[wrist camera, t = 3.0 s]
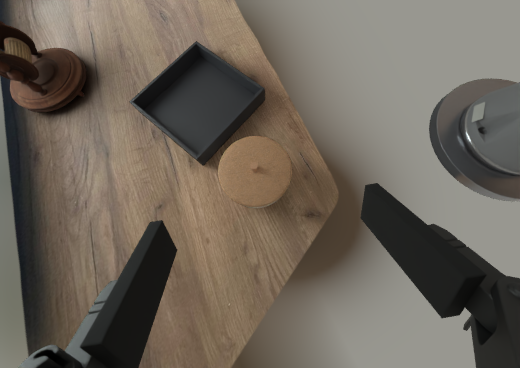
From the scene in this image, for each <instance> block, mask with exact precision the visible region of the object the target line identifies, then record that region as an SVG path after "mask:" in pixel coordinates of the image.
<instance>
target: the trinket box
mask: <svg viewBox="0 0 520 368" xmlns="http://www.w3.org/2000/svg"><path fill="white" fill-rule="evenodd" d="M218 176H219V181H220V184H221V186H222V188H223V190H224V192H225V193H226V194H227V195H228V196H229V197H230V198H231V199H232V200H234V201H235V202H237V203H239V204H240V205H243V206H245V207H249V208H263V207H266V206H269V205H271V204H273V203H275V202H276V201H277V200H279V199H280V198H281V196H282V195H283V194H284V193H285V192H286V190H287V188H288V187H289V184H290V182H291V178H292V163H291V160H290V157H289V155H288V153H287V152H286V150H285V149H284V148H283V147H282V146H281V145H280V144H279V143H277V142H276V141H274V140H272V139H270V138H267V137H262V136H249V137H245V138H242V139H240V140H238V141H236V142H234V143H233V144H232V145H230V146H229V147H228V148H227V149H226V151H225V152H224V154H223V156H222V157H221V160H220V163H219V168H218Z"/></svg>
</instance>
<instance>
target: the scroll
mask: <svg viewBox="0 0 520 368" xmlns="http://www.w3.org/2000/svg"><path fill="white" fill-rule="evenodd" d="M0 49H2V50H4V51H5V52H3V51H1V50H0V75H1V76H3V77H5V78H7V79H10V80H11V83H10V92H11V95H12V98H13V99H14V100H15V102H16V103H18V104H19V105H20V106H22V107H24V108H26V109H28V110H30V111H34V112H49V111H53V110H56V109H59V108H61V107H63V106H65V105H66V104H68V103H69V102H71V101H72V100H73V99H74V98H75V97H76V96H77V95H79V96H82V97H83V96H84V94H83V92H82V91H81V89H82V88H83V86H84V83H85V80H86V68H85V65H84V63H83V61H82V60H81V59H80V58H79V57H78V56H77V55H75V54H74V53H73V52H71V51H69V50H66V49H62V48H50V49H45V50H41V51H38V52H37V49H36V48H35V44H34V42H33V41H32V39H31V38H30V37H29V36H28V35H26V34H25V33H23V32H22V31H20V30H18V29H16V28H14V27H11V26H8V25H5V24H4V23H3V22H1V21H0Z"/></svg>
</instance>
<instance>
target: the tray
mask: <svg viewBox="0 0 520 368" xmlns="http://www.w3.org/2000/svg"><path fill="white" fill-rule="evenodd" d="M264 101H265V88H263V87H262V86H260V85H259V84H257V83H256V82H255V81H253V80H252V79H250V78H249V77H247V76H246V75H244V74H243V73H242V72H240V71H239V70H237V69H236V68H234V67H233V66H231V65H230V64H229V63H227V62H226V61H224V60H223V59H221V58H220V57H218V56H217V55H215V54H214V53H213V52H211V51H210V50H208V49H207V48H205V47H204V46H202V45H201V44H200V43H198V42H197V41H196V42H195V43H194V44H193V45H191V46H190V47H189V48H188V49H187V50H186V51H185V52H184V53H183V54H182V55H180V56H179V57H178V58H177V59H176V60H175V61H174V62H173V63H172V64H170V65H169V66H168V67H167V68H166V69H165V70H164V71H163V72H162V73H161V74H159V75H158V76H157V77H156V78H155V79H154V80H153V81H152V82H151V83H150V84H148V85H147V86H146V87H145V88H144V89H143V90H142V91H141V92H140V93H138V94H137V95H136V96H135V97H134V98H133V99H132V100H131V101H130V103H131V104H132V105H133V106H134V107H135V108H136V109H137V110H138V111H139V112H140V113H141V114H143V115H144V116H145V117H146V118H147V119H149V120H150V121H151V122H152V123H153V124H154V125H156V126H157V127H158V128H159V129H160V130H162V131H163V132H164V133H165V134H166V135H167V136H169V137H170V138H171V139H172V140H173V141H174V142H176V143H177V144H178V145H179V146H180V147H182V148H183V149H184V150H185V151H186V152H187V153H189V154H190V155H191V156H192V157H193V158H195V159H196V160H197V161H198V162H199V163H200V164H202V165H204V164H205V163H206V162H207V161H208V160H209V159H210V158H211V157H212V156H213V155H214V154H215V152H216V151H217V150H218V149H219V148H220V147H221V146H222V145H223V144H224V143H225V142H226V141H227V140H228V139H229V138H230V137H231V136H232V134H233V133H234V132H235V131H236V130H237V129H238V128H239V127H240V126H241V125H242V124H243V123H244V122H245V121H246V120H247V119H248V118H249V116H250V115H251V114H252V113H253V112H254V111H255V110H256V109H257V108H258V107H259V106H260V105H261V104H262V103H263V102H264Z"/></svg>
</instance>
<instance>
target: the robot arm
mask: <svg viewBox="0 0 520 368" xmlns="http://www.w3.org/2000/svg"><path fill="white" fill-rule="evenodd" d="M460 131H461V135H462V138H463V141H464V143H465V145H466V146H467V148H468V150H469V151H470V152H471V153H472V154H473V156H474V157H475V158H477V159H478V160H479V161H480V162H481V163H483V164H484V165H486V166H487V167H489V168H491V169H493V170H495V171H497V172H500V173H503V174H506V175H511V176H520V82H519V83H516V84H513V85H510V86H507V87H504V88H501V89H498V90H495V91H493V92H490V93H488V94H486V95H484V96H482V97H480V98H479V99H477V100H476V101H474V102H473V103H471V104H470V105H469V106H468V107H467V108H466V109H465V111H464V113H463V115H462V117H461V122H460ZM361 219H362V220H363V222H364V223H365V224H366V225H367V227H368V228H369V229H370V230H371V232H372V233H373V234H374V235H375V236H376V238H377V239H378V240H379V241H380V242H381V244H382V245H383V246H384V247H385V248H386V250H387V251H388V252H389V254H390V255H391V256H392V257H393V259H394V260H395V261H396V262H397V263H398V265H399V266H400V267H401V268H402V270H403V271H404V272H405V273H406V275H407V276H408V277H409V278H410V279H411V281H412V282H413V283H414V284H415V286H416V287H417V288H418V289H419V291H420V292H421V293H422V294H423V296H424V297H425V298H426V299H427V300H428V302H429V303H430V304H431V305H432V306H433V308H434V309H435V310H436V312H437V313H438V314H439V315H440V316H441V318H446V317H452V316H457V315H460V314H461V312H462V311H463V309H464V308H466V309H467V310H468V311H469V312H470V313H471V314H472V315H471V316H470V318H469V319H468V320H467V322H466V323H465V324H464V328H463V329H464V330H466V331H467V330H468V329H469V327H470V326H471V331H472V339H473V346H474V353H475V362H476V368H520V279H519V278H515V277H510V276H505V275H504V274H502V273H501V272H499V271H498V270H497V269H496V268H494V267H493V266H492V265H491V264H489V263H488V262H487V261H485V260H484V259H483V258H481V257H480V256H479V255H478V254H477V253H475V252H474V251H473V250H471V249H470V248H469V247H466V245H465V244H464V243H462V242H461V241H460V240H457V238H456V237H455V236H453V235H452V234H451V233H450V232H448V231H447V230H445V229H443V228H441V227H439V226H437V225H435V224H431V225H427V224H426V223H424V222H423V221H422V220H421V219H420V218H418V217H417V216H416V215H415V214H414V213H412V212H411V211H410V210H409V209H408V208H406V207H405V206H404V205H403V204H402V203H400V202H399V201H398V200H397V199H395V198H394V197H393V196H392V195H391V194H390V193H388V192H387V191H386V190H385V189H384V188H382V187H381V186H380V185H379V184H378V183H375V184H370V185H365V192H364V199H363V205H362V212H361ZM176 252H177V249H176V247H175V245H174V243H173V241H172V239H171V237H170V235H169V233H168V231H167V229H166V227H165V225H164V223H163V221H162V220H161V221H155V222H150V223H149V225H148V227H147V229H146V230H145V232H144V234H143V236H142V238H141V239H140V241H139V243H138V245H137V246H136V248H135V250H134V252H133V253H132V255H131V257H130V259H129V261H128V262H127V264H126V266H125V268H124V269H123V271H122V273H121V275H120V276H119V278H118V280H115V281H111V282H110V283H109V284H108V285H107V286H106V287H105V288H104V289H103V290H102V291H101V292H100V294H99V296H98V297H97V299H96V301H95V302H94V305H92V307H91V309H90V310H89V312H88V313H89V314H88V315H86V317H85V319H84V320H83V322H82V324H81V325H80V327H79V328H78V330H77V332H76V333H75V335H74V337H73V338H72V340H71V342H70V343H69V345H68V347H67V348H66V350H65V351H64V350H62V349H61V348H59V347H58V346H55V345H49V346H46V347H43V348H41V349H39V350H38V351H36V352H34V353H33V354H32V355H31V356H29V357H28V358H27V359H26V360H25V361H24V362H23V363H22V364H21V365H20V366H19V367H18V368H138V367H139V364H140V361H141V358H142V355H143V352H144V349H145V346H146V343H147V340H148V337H149V334H150V331H151V328H152V325H153V322H154V319H155V316H156V313H157V310H158V307H159V304H160V301H161V298H162V295H163V292H164V289H165V286H166V283H167V280H168V277H169V273H170V270H171V267H172V264H173V261H174V258H175V255H176Z"/></svg>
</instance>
